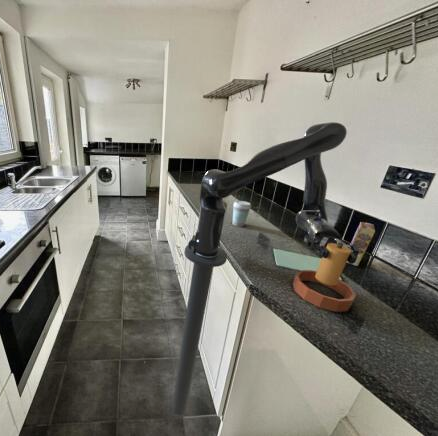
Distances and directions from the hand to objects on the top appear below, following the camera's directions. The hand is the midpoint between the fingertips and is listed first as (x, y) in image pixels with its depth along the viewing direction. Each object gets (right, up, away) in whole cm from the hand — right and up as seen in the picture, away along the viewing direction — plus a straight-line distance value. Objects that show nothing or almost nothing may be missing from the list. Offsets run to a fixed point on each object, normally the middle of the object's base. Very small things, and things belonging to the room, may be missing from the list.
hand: (339, 257), depth 64 cm
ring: (0, -12, +7) cm, 15 cm away
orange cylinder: (0, -8, +5) cm, 9 cm away
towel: (+7, -6, +24) cm, 26 cm away
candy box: (+29, -6, +28) cm, 41 cm away
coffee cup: (-6, +8, +58) cm, 59 cm away
